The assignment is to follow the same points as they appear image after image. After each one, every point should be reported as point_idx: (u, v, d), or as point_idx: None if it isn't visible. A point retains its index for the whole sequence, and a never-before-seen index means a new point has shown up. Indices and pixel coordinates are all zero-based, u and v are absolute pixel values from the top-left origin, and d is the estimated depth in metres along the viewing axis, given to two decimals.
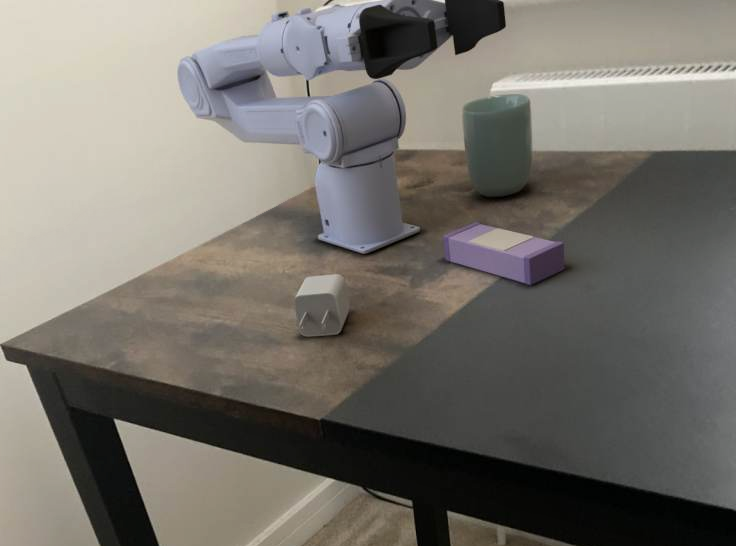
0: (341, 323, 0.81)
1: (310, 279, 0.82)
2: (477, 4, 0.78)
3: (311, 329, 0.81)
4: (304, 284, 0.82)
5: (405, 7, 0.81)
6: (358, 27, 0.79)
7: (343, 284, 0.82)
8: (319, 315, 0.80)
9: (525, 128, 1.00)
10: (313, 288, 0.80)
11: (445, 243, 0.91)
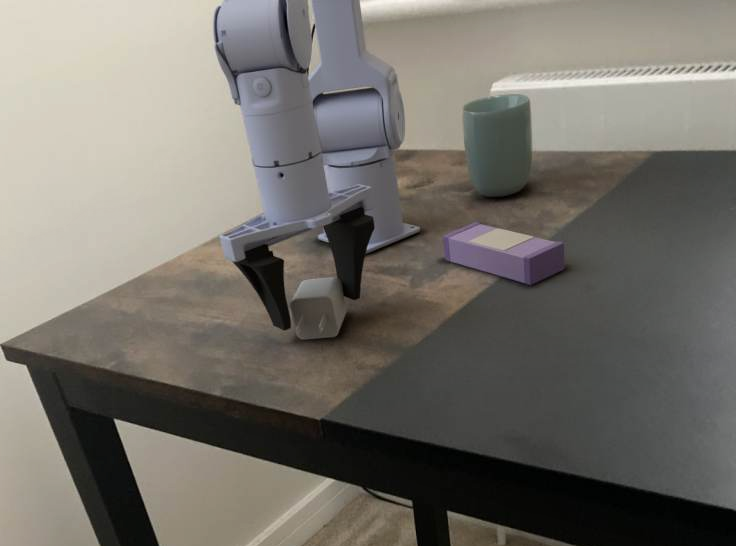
0: (338, 326, 0.81)
1: (306, 282, 0.82)
2: (351, 272, 0.80)
3: (308, 332, 0.81)
4: (300, 287, 0.81)
5: None
6: (257, 238, 0.73)
7: (340, 287, 0.82)
8: (316, 318, 0.80)
9: (525, 128, 1.00)
10: (309, 291, 0.80)
11: (445, 243, 0.91)
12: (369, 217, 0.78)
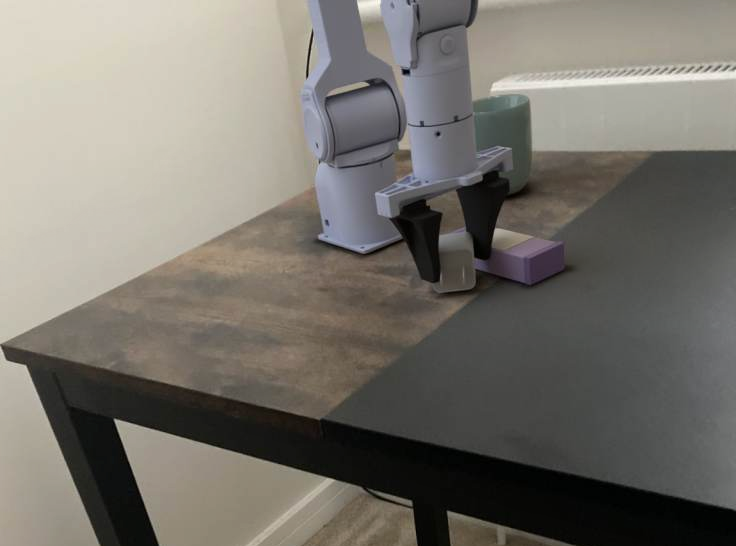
0: (475, 278, 0.83)
1: (440, 237, 0.85)
2: (484, 232, 0.84)
3: (445, 285, 0.84)
4: None
5: None
6: (412, 195, 0.77)
7: (472, 241, 0.85)
8: (454, 270, 0.83)
9: (525, 128, 1.00)
10: (447, 245, 0.83)
11: None
12: (505, 179, 0.81)
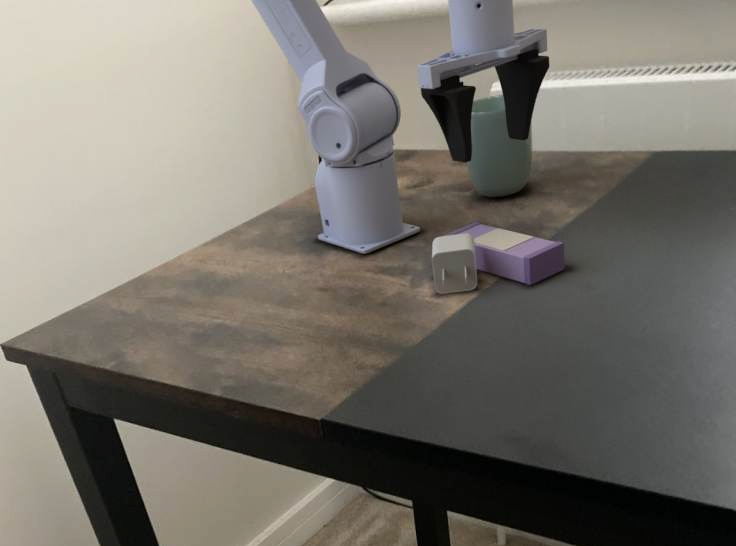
0: (476, 279, 0.84)
1: (441, 239, 0.85)
2: (524, 111, 0.87)
3: (447, 286, 0.84)
4: (437, 243, 0.85)
5: None
6: (452, 66, 0.80)
7: (473, 242, 0.85)
8: (456, 271, 0.83)
9: None
10: (449, 246, 0.83)
11: None
12: (545, 56, 0.85)
